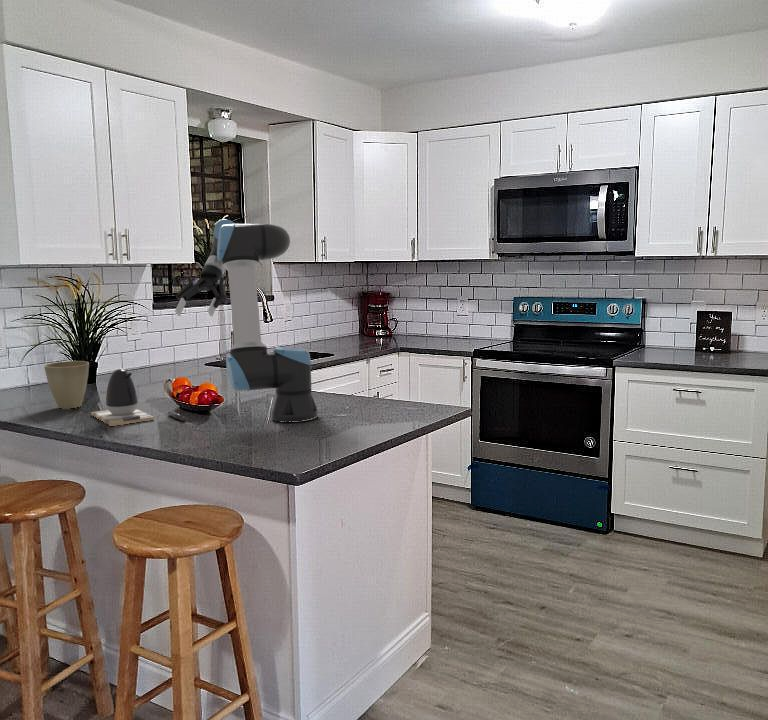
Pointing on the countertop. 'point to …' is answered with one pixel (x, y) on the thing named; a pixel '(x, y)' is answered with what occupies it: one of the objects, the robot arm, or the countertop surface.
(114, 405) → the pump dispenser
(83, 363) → the plant pot
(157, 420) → the countertop surface
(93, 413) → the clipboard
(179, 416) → the black marker
